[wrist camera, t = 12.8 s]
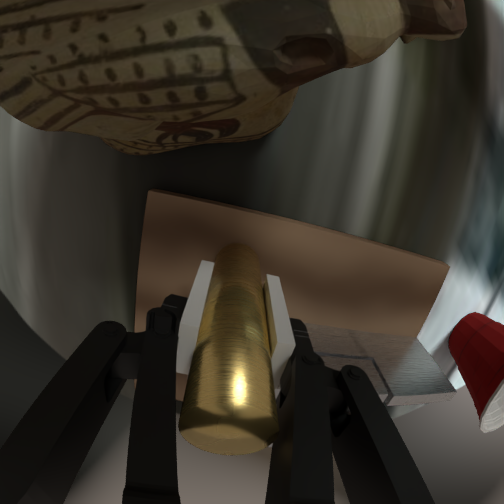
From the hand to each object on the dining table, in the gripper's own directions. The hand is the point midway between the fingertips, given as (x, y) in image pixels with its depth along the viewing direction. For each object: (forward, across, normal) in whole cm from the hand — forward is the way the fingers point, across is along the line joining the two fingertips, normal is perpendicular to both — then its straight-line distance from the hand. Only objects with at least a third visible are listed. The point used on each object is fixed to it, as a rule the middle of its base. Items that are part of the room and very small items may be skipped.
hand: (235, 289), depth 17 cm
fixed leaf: (+4, +12, -7) cm, 14 cm away
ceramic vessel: (+6, -7, +16) cm, 18 cm away
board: (+5, +6, -6) cm, 10 cm away
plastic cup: (+6, +28, -3) cm, 29 cm away
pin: (+4, 0, 0) cm, 4 cm away
